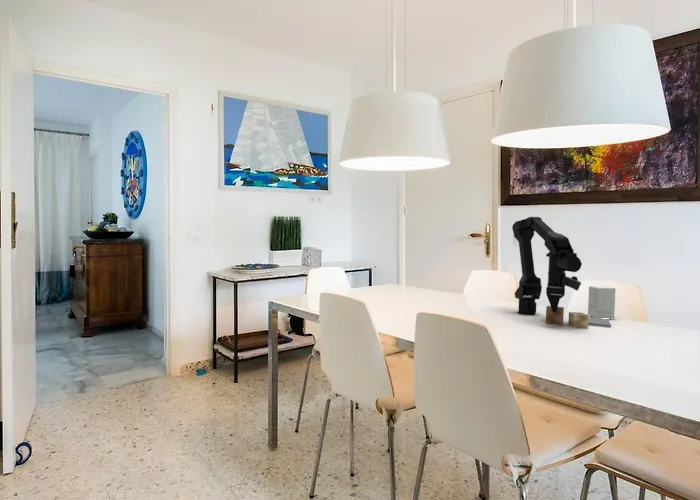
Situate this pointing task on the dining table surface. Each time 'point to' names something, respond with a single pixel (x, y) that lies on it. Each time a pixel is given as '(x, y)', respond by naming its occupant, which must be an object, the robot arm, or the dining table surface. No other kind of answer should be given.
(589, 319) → the plate
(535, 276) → the robot arm
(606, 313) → the supplement box
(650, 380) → the dining table surface
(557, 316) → the walnut cube
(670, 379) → the dining table surface
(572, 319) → the oak cube
